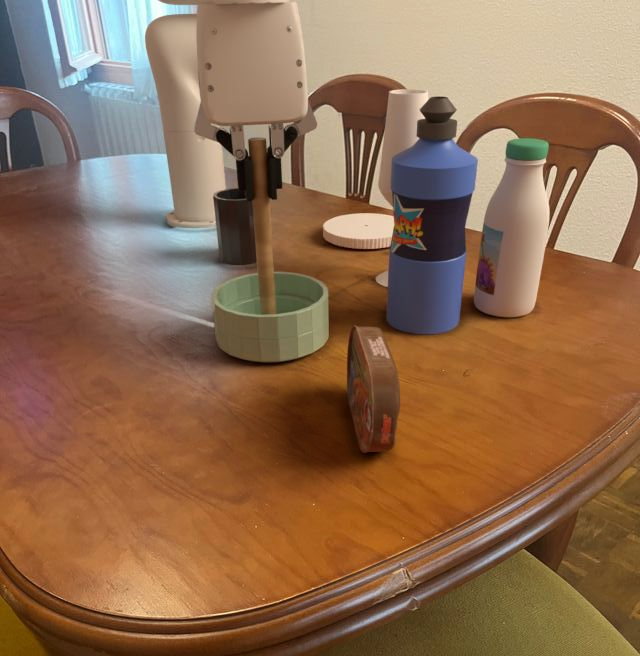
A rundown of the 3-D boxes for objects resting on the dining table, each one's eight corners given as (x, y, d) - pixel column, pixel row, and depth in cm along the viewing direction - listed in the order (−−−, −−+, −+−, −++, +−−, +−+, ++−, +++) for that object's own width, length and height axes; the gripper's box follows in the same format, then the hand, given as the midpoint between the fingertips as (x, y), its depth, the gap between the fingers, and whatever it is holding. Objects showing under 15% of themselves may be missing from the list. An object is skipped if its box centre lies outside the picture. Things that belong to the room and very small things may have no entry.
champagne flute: (390, 267, 97) (398, 86, 84) (431, 276, 94) (445, 90, 81) (366, 282, 93) (370, 93, 80) (408, 292, 90) (419, 96, 76)
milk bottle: (536, 298, 87) (565, 136, 76) (531, 322, 81) (562, 149, 70) (477, 292, 89) (497, 133, 78) (468, 314, 83) (489, 146, 72)
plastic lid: (305, 240, 109) (305, 225, 107) (366, 222, 116) (366, 208, 115) (364, 261, 100) (365, 245, 98) (426, 241, 107) (427, 225, 106)
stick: (267, 319, 77) (255, 136, 66) (280, 322, 76) (269, 138, 65) (258, 324, 76) (244, 139, 65) (270, 328, 75) (258, 141, 64)
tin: (344, 385, 69) (344, 310, 64) (374, 383, 69) (376, 309, 64) (364, 472, 56) (366, 388, 52) (400, 470, 57) (406, 386, 52)
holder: (240, 250, 105) (234, 185, 100) (275, 258, 102) (271, 191, 96) (210, 262, 100) (202, 195, 95) (246, 271, 97) (240, 202, 91)
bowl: (265, 308, 86) (262, 264, 82) (349, 333, 79) (350, 285, 76) (193, 347, 77) (187, 299, 73) (282, 378, 70) (280, 326, 67)
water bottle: (416, 341, 77) (433, 107, 63) (370, 314, 84) (376, 96, 70) (476, 322, 81) (504, 98, 67) (427, 298, 88) (443, 89, 74)
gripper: (326, -17, 62) (328, 184, 73) (157, -14, 60) (183, 193, 70) (342, -19, 56) (342, 201, 66) (154, -15, 54) (184, 212, 64)
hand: (260, 195), depth 68 cm, fingers closed on stick, 1 cm apart
